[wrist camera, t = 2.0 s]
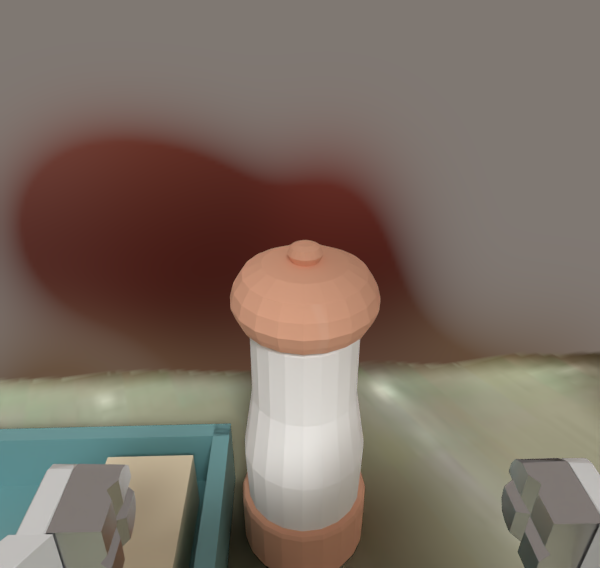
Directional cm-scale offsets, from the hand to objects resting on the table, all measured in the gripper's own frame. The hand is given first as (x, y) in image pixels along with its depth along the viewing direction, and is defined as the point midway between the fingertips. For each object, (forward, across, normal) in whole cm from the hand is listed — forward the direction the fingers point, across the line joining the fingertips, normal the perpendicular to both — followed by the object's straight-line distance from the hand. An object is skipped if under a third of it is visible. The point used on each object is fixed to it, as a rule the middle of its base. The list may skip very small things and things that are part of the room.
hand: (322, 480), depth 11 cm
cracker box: (+11, +8, +19) cm, 23 cm away
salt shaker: (+14, -1, +20) cm, 24 cm away
